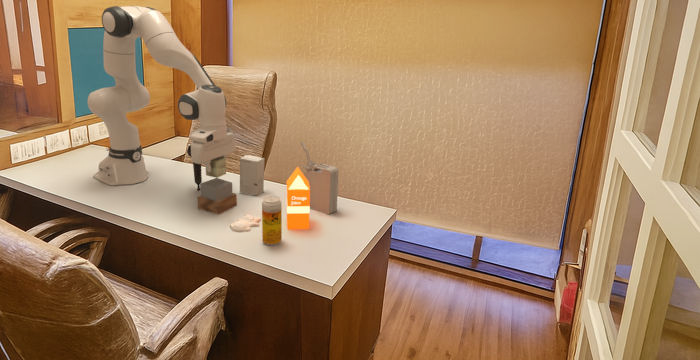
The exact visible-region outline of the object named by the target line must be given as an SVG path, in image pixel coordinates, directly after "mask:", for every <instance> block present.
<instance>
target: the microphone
mask: <svg viewBox="0 0 700 360" xmlns="http://www.w3.org/2000/svg"><path fill="white" fill-rule="evenodd" d="M186 153H187V155H188V156H189V157H190V158H191V144H190V145H189V146H188V147H187V150H186ZM192 168H193V179H194V184H196V185H197V188H196V190H197V191H198V192H199V191H200V192H201V190H200V184H201V183H203V182H202V181H203V180H202V179H203V178H202V164H197V163H194V162H193V161H192Z"/></svg>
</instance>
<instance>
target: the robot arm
mask: <svg viewBox="0 0 700 360" xmlns="http://www.w3.org/2000/svg"><path fill="white" fill-rule="evenodd" d="M101 24H102V28H103V29H104V32H103V33H104V34H103V42H102V43H103V48H102V54H103V55H102V56H103V69H104V71H105V73H106V74H108V75H109V76H111V77H112V78H114V82H115V85H114V86H109V87H108V86H107V87H102V88H99V89H97V90H94V91H92V92H90V93H89V95H88V97H87V107H88V109H89V110H90V111H91V113H92V114H93V115H94V116H96V117H98V118H99V119H101V120H102V122H103V123H104V125H105V127H106V129H107V132H108V133H107V134H108V137H109V138H108V139H109V144H110V147H107V148H106V151H107V152H108V155H107V156H106V157H105V158H104V159H102V160H101V161H100V162H99V163H98V172H95V173H94V174H93V175H92V178H93V179H95V180H98V181H100V182H102V183H104V184H106V185H109V186H119V185H123V186H124V185H133V184H138V183H142V182H144V181H146V180H148V178H149V176H148V174H149V171H148V170H147V168H146V164H145V159H144V156H143V147H142V145H141V142H140V141H141V139H140V131H139V128H138V127H137V125H136V124H134V123H132V122H131V121H130V122H129V120H128V117H127V114H129V113H133V112H137V111H138V112H139V111H140V110H143V109H144V108H146V107H148V106H149V105H150V103H151V102H150V101H151V94H150V92H149V90H148V89H147V88H146V86H144V85H143V84H142V83H141V82H140V80H139V77H138V75H137V70H136V69H137V67H136V41H137V39H139V38H142V40H143V42H144V45H145V47H146V48H147V51H148V52H149V54H150V56H151V57H152V59H154V61H155V62H156V63H158V64H160V65H162V66H165V67H169V68H172V69H177V70H179V71H181V72H184V73H185V74H187V75H188V76H189V78H190V79H191V80H192V81H193V83H194V84H195V86H196V88H197V89H196V90H194V91H190V92H187V93H184V94H181V95H180V97H179V99H178V102H177V108H178V111H179V114H180V115H181V116H182V117H183V118H184V119H185V120H188V121H195V120H198V121H199V122H200V124H199V127H198V128H197V129H196V130H195V131H194V132H192V133H191V134H190V135H189V136H190V137H189V138H190V141H192V142H191V143H190V145H191V157H190V158H191V161H192V163H193V162H194V163H197V164H201V165H204V166H205V172H206V171H207V172H211V171H213V167H212V166H211V165H210V163H211V160H213V159H216V158H218V157H222V158H225V160H227V155H229V154H231V153H234V152H236V149H237V145H236V144H237V143H236V136H235V134H234V130H233V128H232V127H227V121H226V113H227V99H226V96H225V93H224V91H223V89H222V87H219V86H218V85H216V84H215V83H214V81H213V80H212V79H211V76H209V74H208V73H207V71H206V70H205V68H204V67H203V65H202V64H201V62H200V61H199V59H198V58H197V56H195V55H194V54H193V53H192V52H191V51H190V50H189V49H188V48H187V47H185V46H184V44H183V43H182V42H181V41H180V39H179V37H178V36H177V33H175V31H174V29H173V27H172V25H171V24H170V23H169V21H168V20H167V18H166V17H165V15H164V14H162V12H161V11H159V10H158V9H155V8H153V7H149V6H139V5H129V6H128V5H125V6H117V5H115V6H114V5H113V6H109V7H107V8H105V9H104V10H103V12H102V15H101Z"/></svg>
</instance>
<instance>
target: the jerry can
mask: <svg viewBox="0 0 700 360" xmlns="http://www.w3.org/2000/svg"><path fill="white" fill-rule="evenodd" d="M300 145H301V147H302V148H303V151H304V152H305V155H306V161H307V162H306V163H307V165H303V169H304V170H305V172H304V173H303V175H304V176H305V177H306V179H307V180H308V181H309V187H310V209H311V210H315V211H316V212H319V213H322V214H325V215H330V214H332V213H335V212H337V210H338V192H339V191H338V187H339V169H338V167H337V166H333V165H328V164H326V163H325V164H324V163H320V164H318V163H315V162H314V161H313V160H311V158H310V153H309V150H308V148H307V146H306V144H305V142H304V141H301V142H300Z"/></svg>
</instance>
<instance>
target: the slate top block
mask: <svg viewBox="0 0 700 360" xmlns="http://www.w3.org/2000/svg"><path fill="white" fill-rule="evenodd" d="M199 187H200V196H201V197H204V198H207V199H210V200H213V201H216V202H217V201H219V200H222V199H224V198H226V197H229V196H231V195H233V194H232V193H233V182H232V181H229V180H225V179H221V178H220V177H218V178H216V177H214V178H212V179H210V180H207V181H203V182H202V183H200V185H199Z"/></svg>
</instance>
